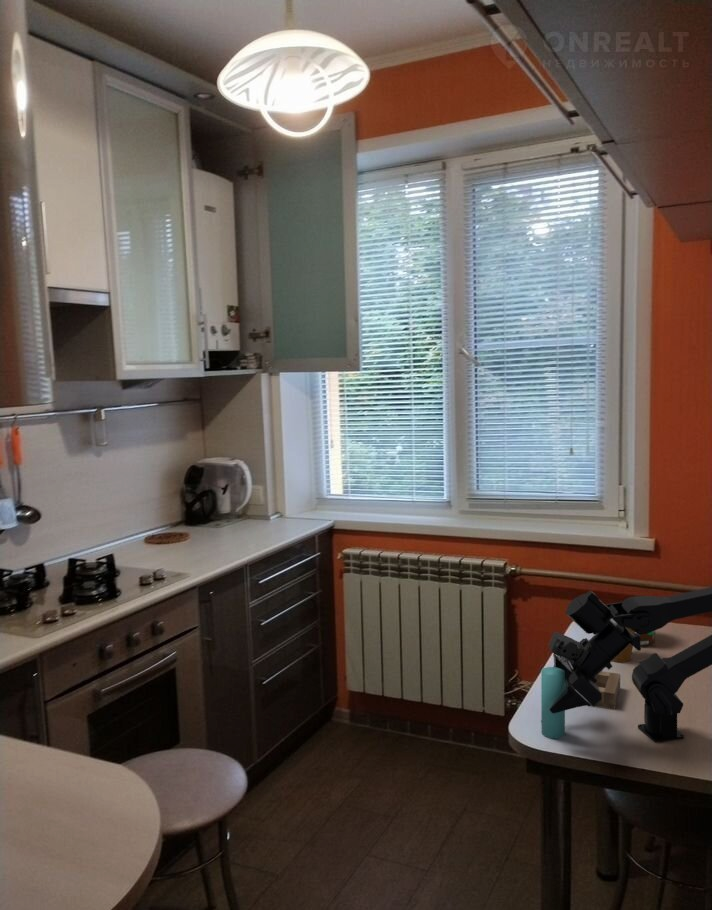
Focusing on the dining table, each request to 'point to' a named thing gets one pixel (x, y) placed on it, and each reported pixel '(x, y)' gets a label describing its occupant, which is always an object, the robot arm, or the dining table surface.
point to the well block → (608, 688)
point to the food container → (647, 639)
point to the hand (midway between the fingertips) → (546, 701)
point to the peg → (549, 694)
